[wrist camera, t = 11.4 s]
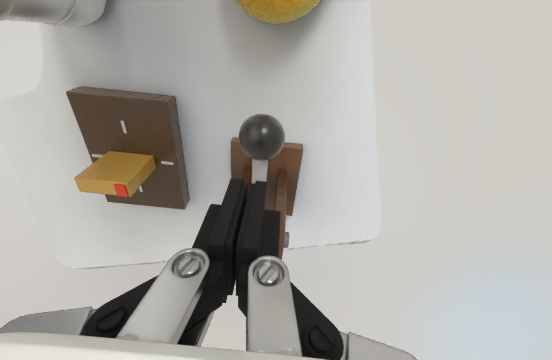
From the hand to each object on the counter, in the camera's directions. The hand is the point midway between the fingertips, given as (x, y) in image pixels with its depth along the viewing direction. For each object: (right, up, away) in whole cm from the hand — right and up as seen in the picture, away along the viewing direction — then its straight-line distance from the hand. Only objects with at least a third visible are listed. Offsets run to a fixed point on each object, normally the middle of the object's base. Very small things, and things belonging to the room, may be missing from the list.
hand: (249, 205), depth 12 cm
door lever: (0, +1, +10) cm, 10 cm away
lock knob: (-15, +4, +16) cm, 23 cm away
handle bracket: (0, +2, +19) cm, 19 cm away
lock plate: (-15, +5, +18) cm, 24 cm away
